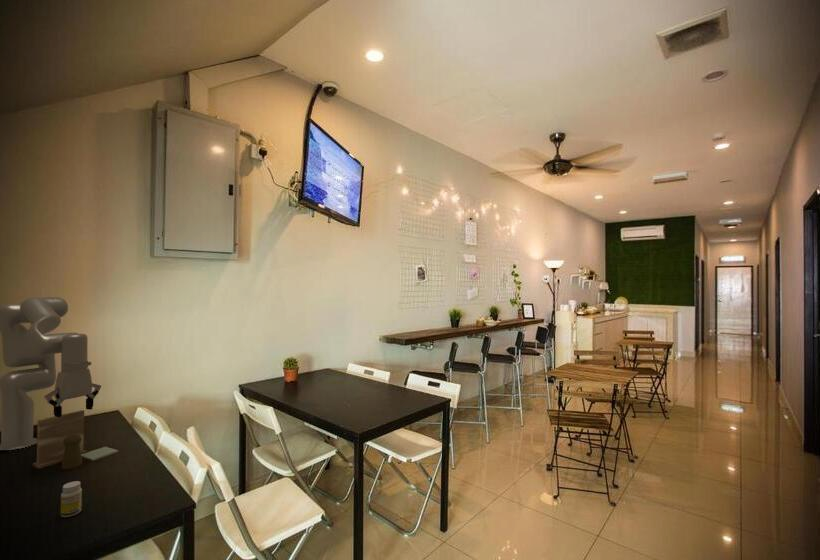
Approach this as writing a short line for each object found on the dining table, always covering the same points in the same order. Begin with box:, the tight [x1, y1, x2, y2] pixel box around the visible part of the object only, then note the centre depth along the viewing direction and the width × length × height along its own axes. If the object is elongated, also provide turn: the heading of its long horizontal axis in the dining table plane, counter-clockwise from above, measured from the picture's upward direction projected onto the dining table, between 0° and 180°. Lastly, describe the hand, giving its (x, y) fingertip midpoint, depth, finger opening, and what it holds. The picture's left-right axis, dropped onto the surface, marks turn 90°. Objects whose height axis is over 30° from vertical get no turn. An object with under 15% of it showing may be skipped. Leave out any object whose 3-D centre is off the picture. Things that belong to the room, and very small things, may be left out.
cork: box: [60, 435, 83, 470], centre depth 146 cm, size 6×6×11 cm
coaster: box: [81, 446, 119, 462], centre depth 156 cm, size 9×9×1 cm
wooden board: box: [32, 409, 88, 469], centre depth 151 cm, size 5×15×17 cm, turn 155°
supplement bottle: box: [60, 480, 83, 518], centre depth 115 cm, size 5×5×8 cm
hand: (74, 412), depth 146 cm, fingers open, 9 cm apart
